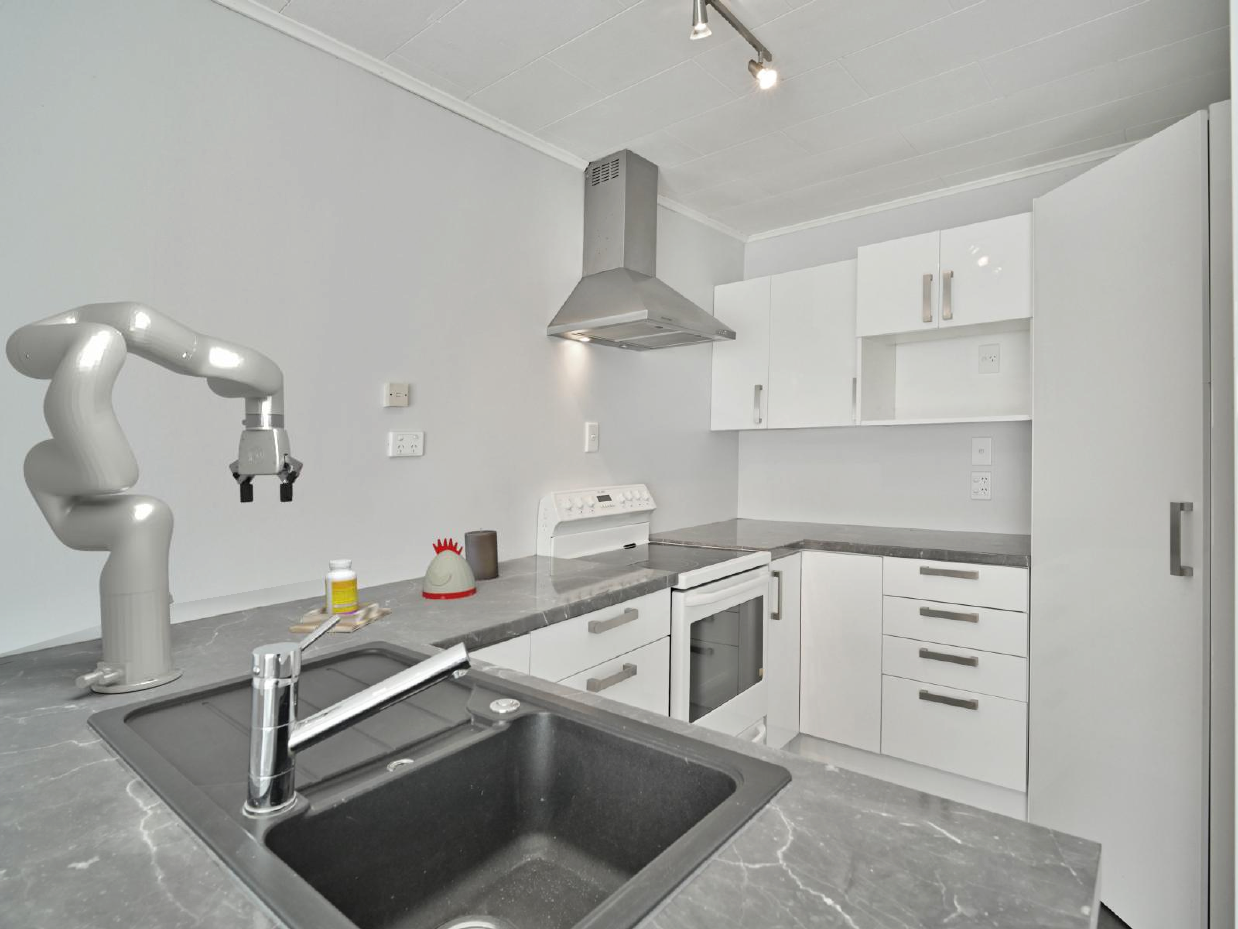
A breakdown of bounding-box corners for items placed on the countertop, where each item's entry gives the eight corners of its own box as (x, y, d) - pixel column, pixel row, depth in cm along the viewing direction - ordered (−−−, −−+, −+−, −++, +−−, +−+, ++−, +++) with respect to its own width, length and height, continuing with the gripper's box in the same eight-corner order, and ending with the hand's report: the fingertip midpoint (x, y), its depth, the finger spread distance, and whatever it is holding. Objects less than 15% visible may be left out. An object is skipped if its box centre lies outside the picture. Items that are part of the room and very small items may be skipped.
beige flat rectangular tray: (351, 633, 142) (350, 618, 142) (290, 632, 144) (289, 618, 144) (391, 612, 160) (391, 599, 159) (336, 611, 161) (336, 599, 161)
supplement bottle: (364, 616, 152) (362, 559, 152) (338, 622, 147) (336, 564, 147) (346, 612, 156) (344, 557, 156) (319, 619, 150) (318, 561, 150)
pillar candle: (503, 574, 206) (501, 525, 206) (491, 580, 196) (489, 529, 196) (473, 574, 208) (471, 526, 208) (460, 580, 198) (458, 530, 198)
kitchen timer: (435, 588, 187) (434, 535, 187) (483, 588, 185) (481, 534, 185) (413, 599, 174) (411, 541, 173) (464, 600, 172) (463, 541, 171)
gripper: (217, 424, 145) (218, 503, 145) (289, 421, 142) (290, 502, 142) (242, 426, 152) (243, 501, 152) (311, 423, 149) (312, 500, 149)
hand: (266, 502), depth 147 cm, fingers open, 9 cm apart
